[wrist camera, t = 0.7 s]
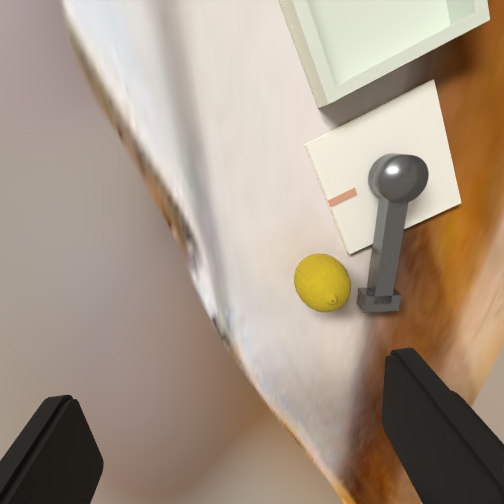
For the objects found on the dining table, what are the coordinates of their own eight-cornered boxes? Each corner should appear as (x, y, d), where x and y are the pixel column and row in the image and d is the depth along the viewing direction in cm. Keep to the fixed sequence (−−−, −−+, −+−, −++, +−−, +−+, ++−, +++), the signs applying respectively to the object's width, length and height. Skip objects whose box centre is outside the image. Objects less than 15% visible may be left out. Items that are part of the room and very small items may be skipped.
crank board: (428, 80, 28) (434, 79, 28) (456, 201, 33) (461, 203, 32) (304, 144, 30) (306, 145, 29) (346, 252, 34) (349, 254, 34)
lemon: (326, 236, 34) (353, 264, 26) (341, 276, 35) (369, 313, 28) (281, 255, 34) (294, 288, 27) (298, 293, 36) (314, 334, 29)
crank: (370, 153, 29) (385, 155, 27) (414, 152, 30) (432, 154, 27) (353, 301, 35) (363, 315, 33) (389, 299, 36) (402, 313, 33)
